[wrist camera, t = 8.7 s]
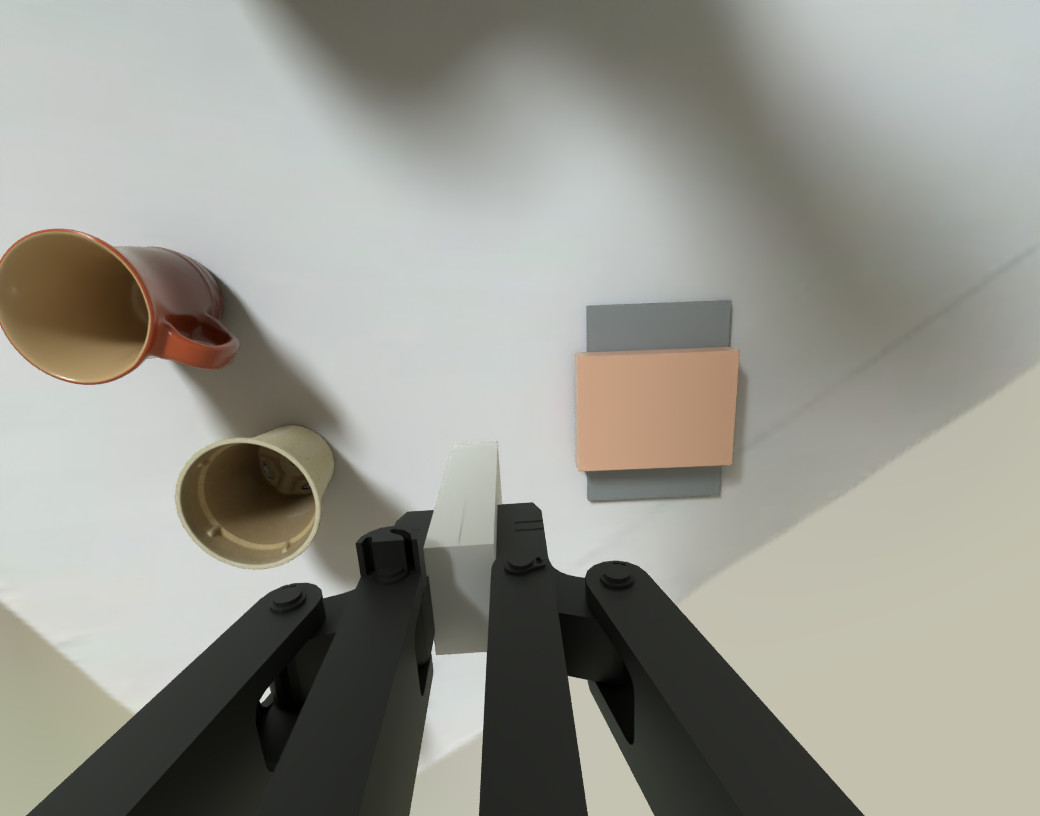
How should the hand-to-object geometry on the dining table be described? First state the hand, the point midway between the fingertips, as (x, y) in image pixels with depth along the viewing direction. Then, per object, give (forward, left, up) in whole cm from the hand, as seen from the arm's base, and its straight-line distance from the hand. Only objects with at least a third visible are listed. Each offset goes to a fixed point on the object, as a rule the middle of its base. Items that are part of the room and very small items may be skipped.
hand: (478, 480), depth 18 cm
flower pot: (+15, -10, -25) cm, 31 cm away
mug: (+7, -21, -25) cm, 34 cm away
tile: (0, +7, -23) cm, 24 cm away
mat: (-3, +13, -25) cm, 28 cm away
